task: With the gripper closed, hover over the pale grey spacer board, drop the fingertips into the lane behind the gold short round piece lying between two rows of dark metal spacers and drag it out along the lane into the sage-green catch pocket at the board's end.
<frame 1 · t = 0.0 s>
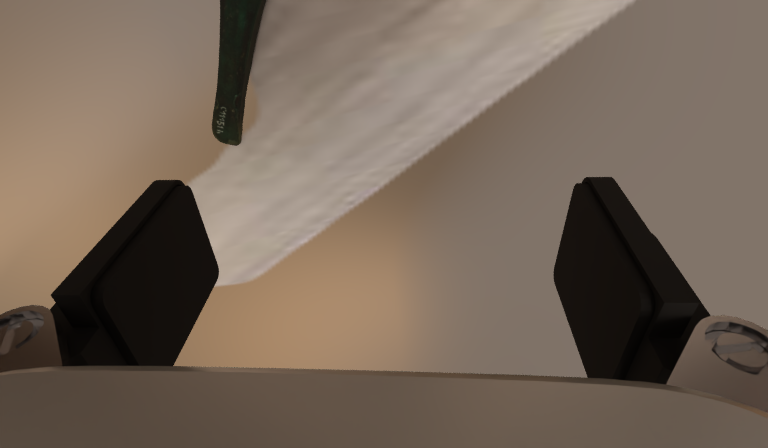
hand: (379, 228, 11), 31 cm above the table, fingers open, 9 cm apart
tool: (262, 0, 38), on the table
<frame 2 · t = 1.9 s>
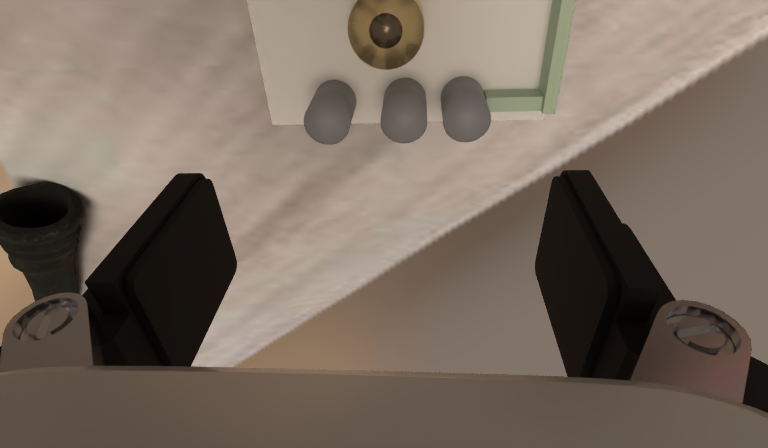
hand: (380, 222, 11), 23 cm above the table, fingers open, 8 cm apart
gold short round piece: (388, 20, 29), point 1 cm above the table, touching spacer board
spacer board: (403, 16, 30), on the table
tool: (79, 285, 48), on the table
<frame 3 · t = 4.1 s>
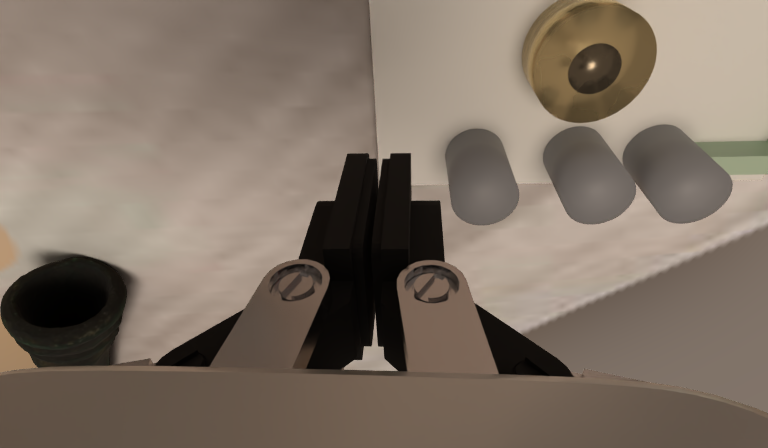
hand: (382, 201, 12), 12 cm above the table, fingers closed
gold short round piece: (574, 49, 20), point 1 cm above the table, touching spacer board
spacer board: (589, 40, 21), on the table
tool: (111, 364, 39), on the table
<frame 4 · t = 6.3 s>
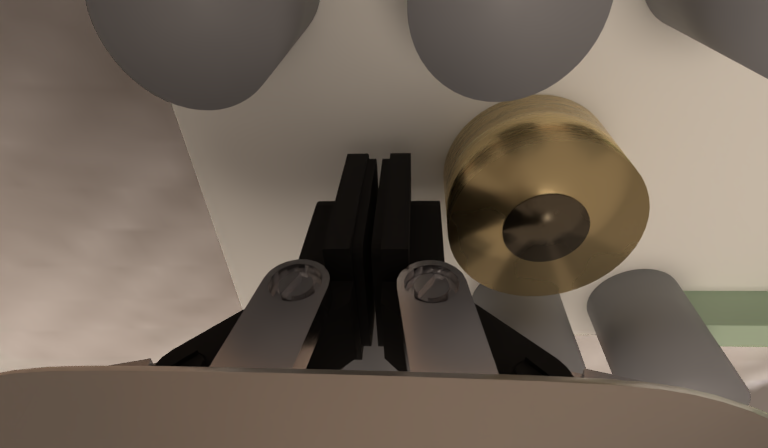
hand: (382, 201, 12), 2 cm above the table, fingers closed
gold short round piece: (524, 173, 13), point 1 cm above the table, touching gripper
spacer board: (527, 152, 14), on the table
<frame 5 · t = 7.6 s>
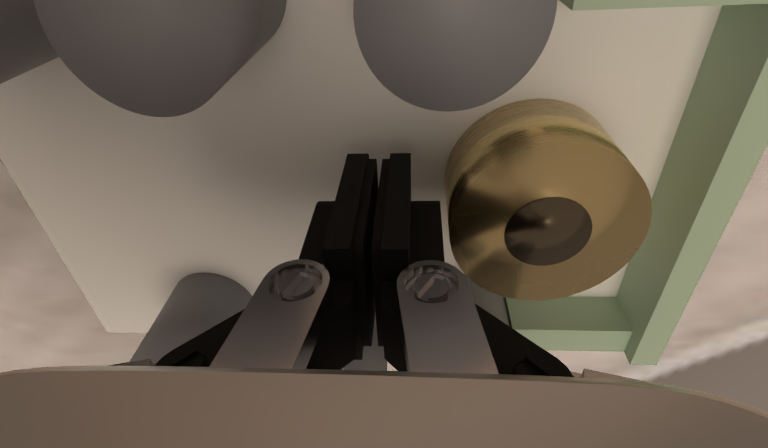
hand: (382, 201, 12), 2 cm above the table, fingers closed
gold short round piece: (525, 176, 13), point 1 cm above the table, touching gripper, spacer board
spacer board: (339, 160, 14), on the table
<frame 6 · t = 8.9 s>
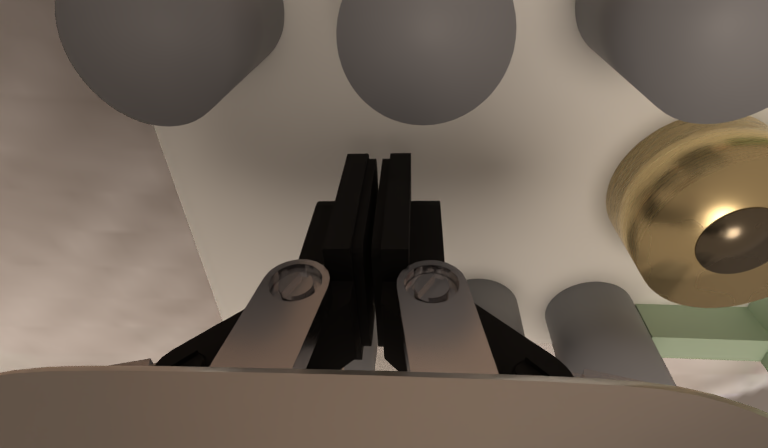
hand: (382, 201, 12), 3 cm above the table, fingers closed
gold short round piece: (690, 187, 13), point 1 cm above the table, touching spacer board
spacer board: (485, 168, 15), on the table
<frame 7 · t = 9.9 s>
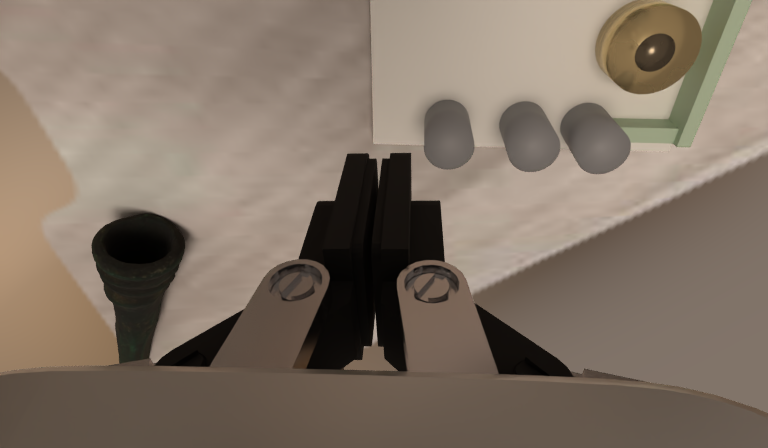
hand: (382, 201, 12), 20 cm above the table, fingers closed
gold short round piece: (636, 41, 27), point 1 cm above the table, touching spacer board
spacer board: (533, 36, 28), on the table
tool: (156, 314, 47), on the table
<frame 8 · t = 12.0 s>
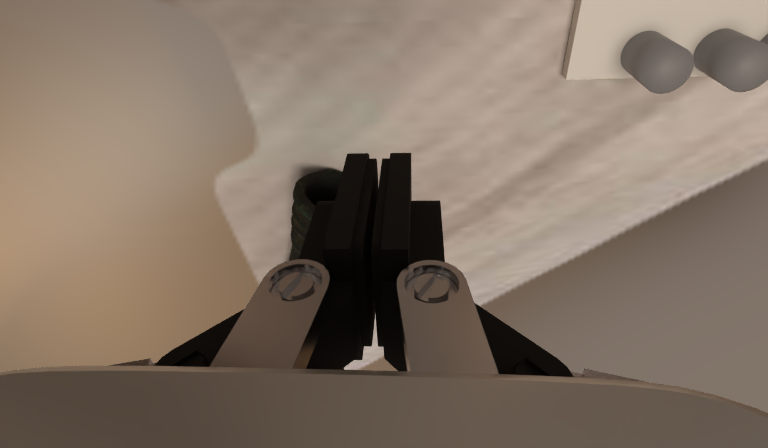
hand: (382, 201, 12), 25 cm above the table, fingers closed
tool: (311, 272, 49), on the table
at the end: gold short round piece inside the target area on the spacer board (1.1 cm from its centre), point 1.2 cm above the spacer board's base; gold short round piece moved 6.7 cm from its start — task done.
